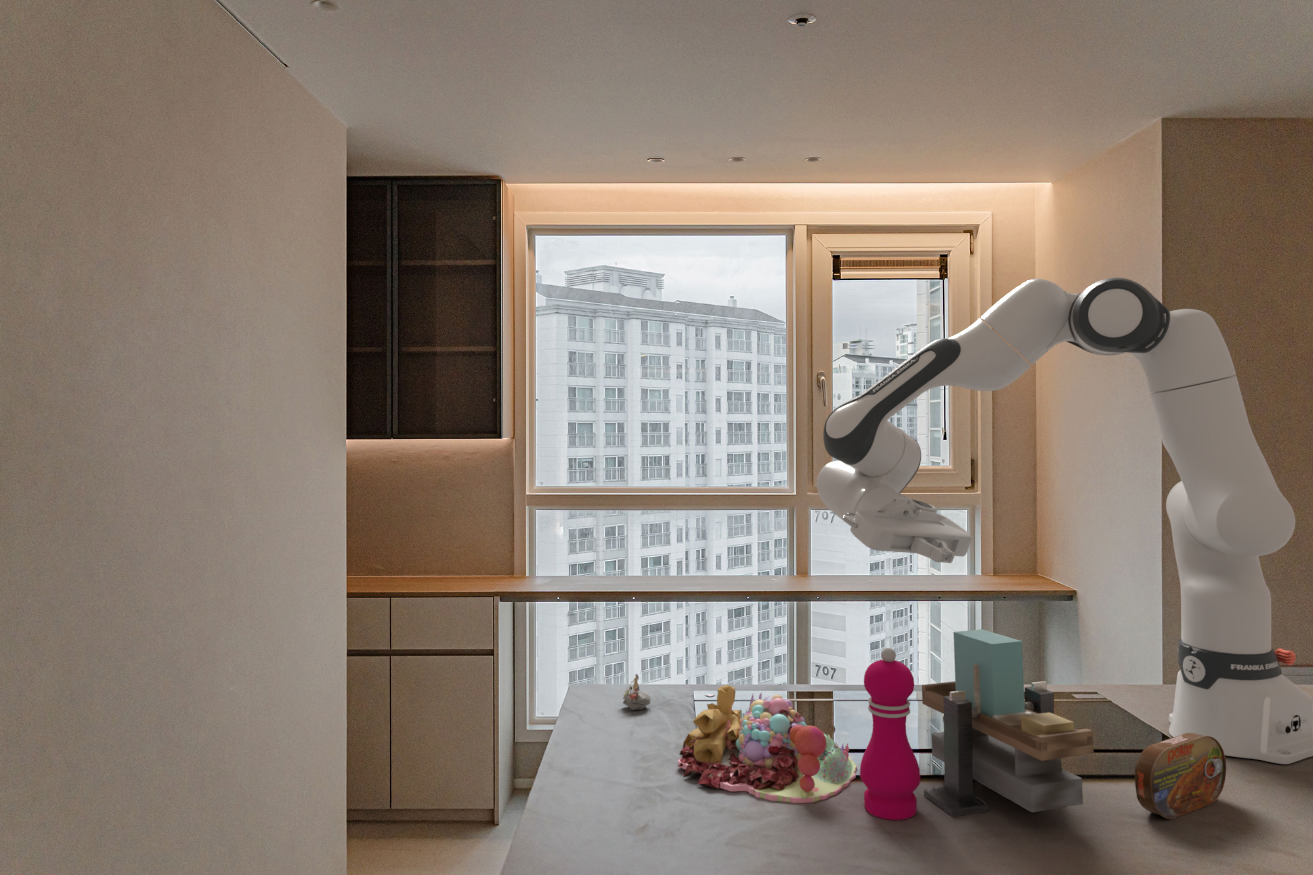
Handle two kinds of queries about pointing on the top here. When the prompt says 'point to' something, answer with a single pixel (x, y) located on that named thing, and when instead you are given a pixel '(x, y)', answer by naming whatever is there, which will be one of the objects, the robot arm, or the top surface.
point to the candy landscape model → (764, 751)
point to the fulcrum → (970, 750)
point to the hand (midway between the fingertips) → (946, 558)
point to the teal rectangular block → (990, 670)
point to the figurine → (636, 697)
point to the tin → (1180, 775)
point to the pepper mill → (889, 741)
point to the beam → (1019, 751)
